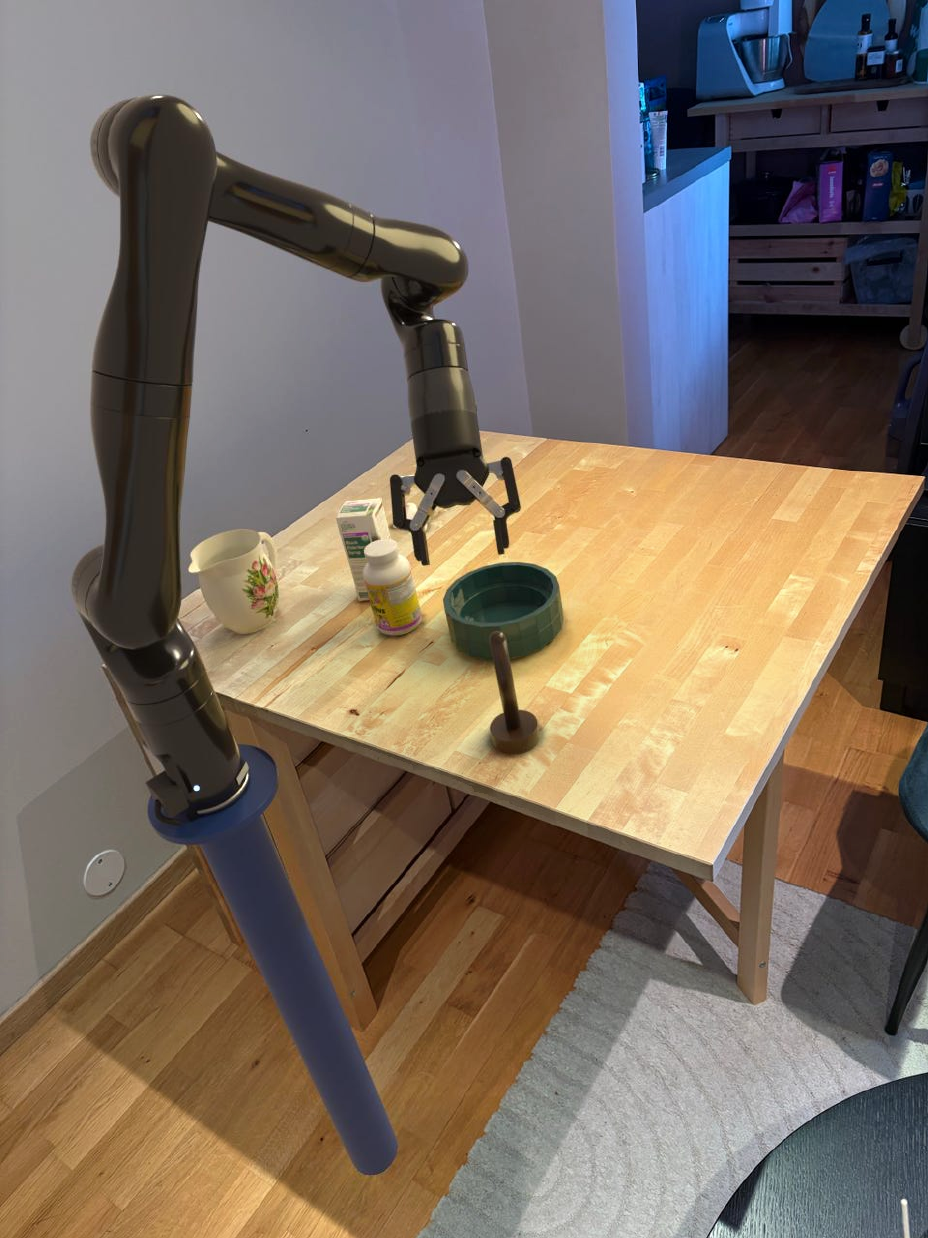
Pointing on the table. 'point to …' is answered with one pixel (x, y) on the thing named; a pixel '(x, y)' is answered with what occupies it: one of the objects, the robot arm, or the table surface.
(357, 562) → the syrup box
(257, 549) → the pitcher
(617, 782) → the table surface
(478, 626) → the bowl
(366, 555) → the supplement bottle
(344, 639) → the table surface
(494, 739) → the brown peg on disc
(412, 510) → the acanthus leaf ornament
